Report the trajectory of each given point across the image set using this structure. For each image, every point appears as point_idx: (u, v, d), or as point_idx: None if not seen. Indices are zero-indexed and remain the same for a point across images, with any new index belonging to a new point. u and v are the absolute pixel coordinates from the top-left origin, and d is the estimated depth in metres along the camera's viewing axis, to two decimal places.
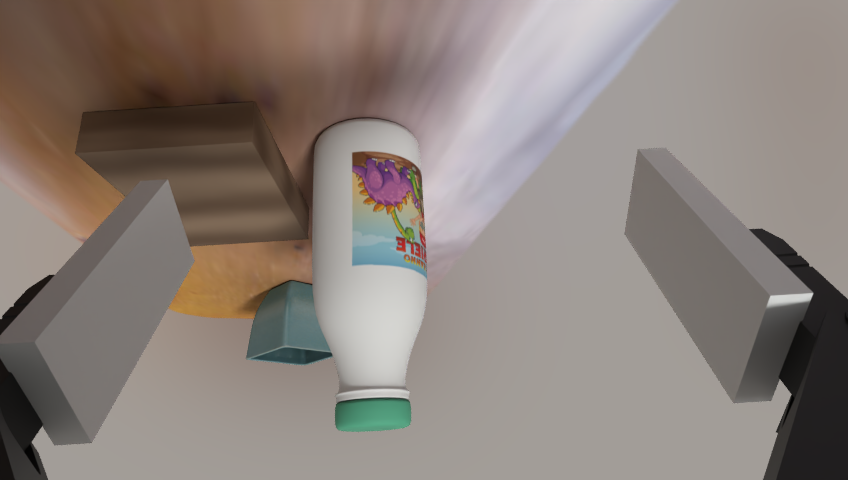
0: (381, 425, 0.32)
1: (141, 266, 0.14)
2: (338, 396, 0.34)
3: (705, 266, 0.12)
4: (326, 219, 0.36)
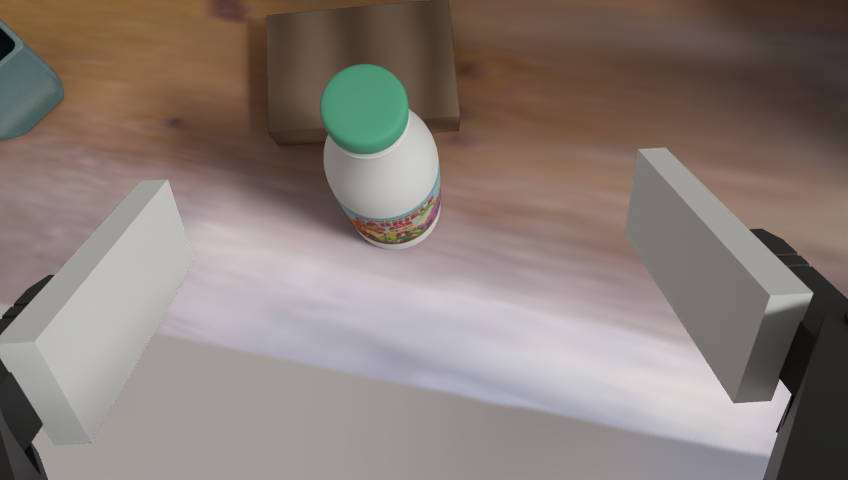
0: (400, 111, 0.28)
1: (141, 266, 0.14)
2: None
3: (705, 266, 0.12)
4: None
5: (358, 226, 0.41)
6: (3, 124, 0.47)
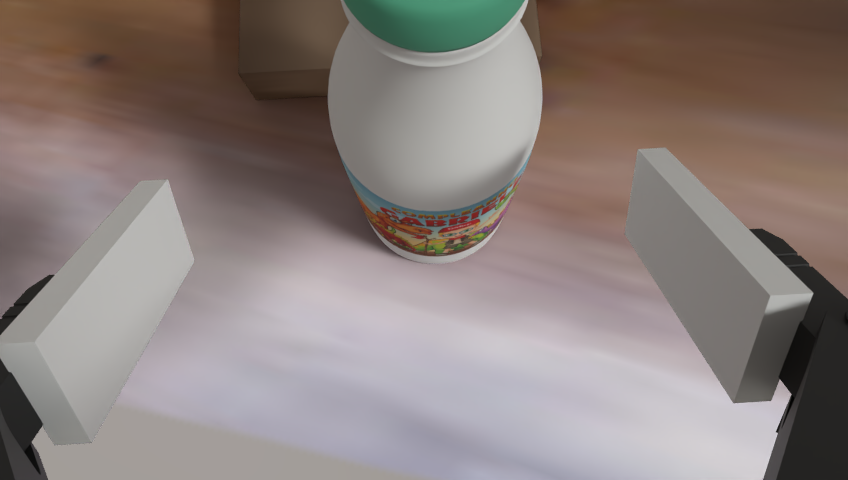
0: None
1: (141, 266, 0.14)
2: None
3: (705, 266, 0.12)
4: None
5: (382, 225, 0.24)
6: None
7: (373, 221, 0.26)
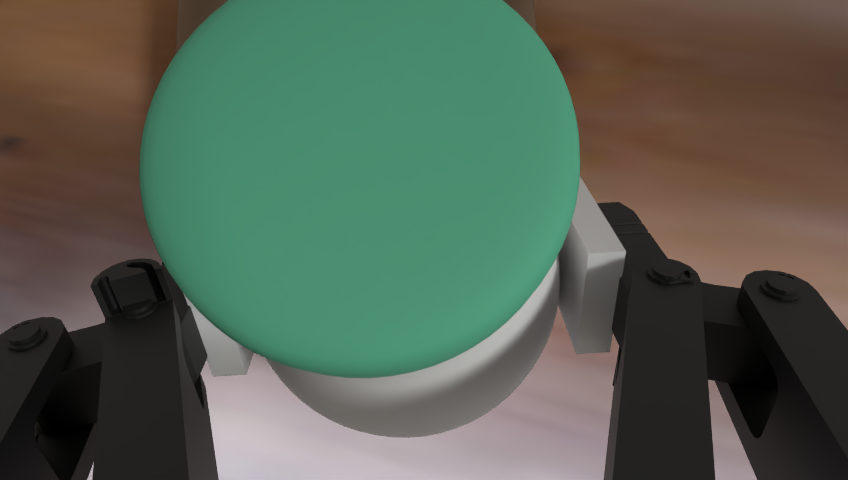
0: (554, 191, 0.05)
1: None
2: None
3: None
4: None
5: None
6: None
7: None
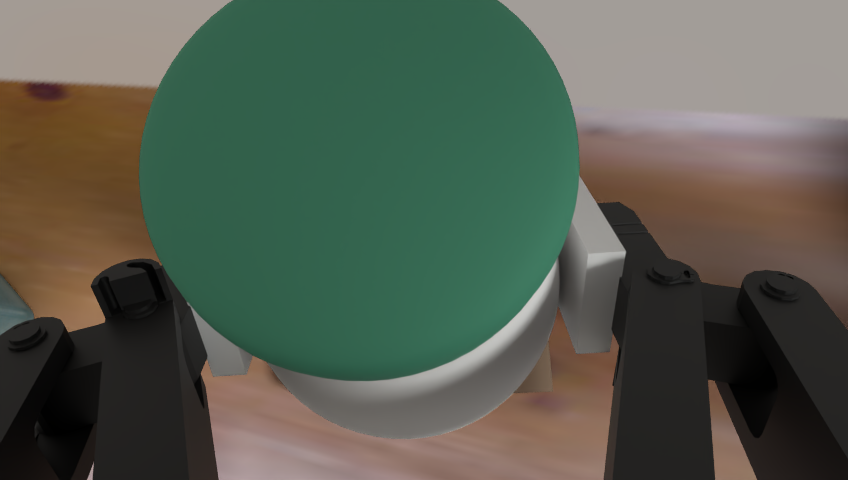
0: (553, 194, 0.05)
1: None
2: None
3: None
4: None
5: None
6: None
7: None
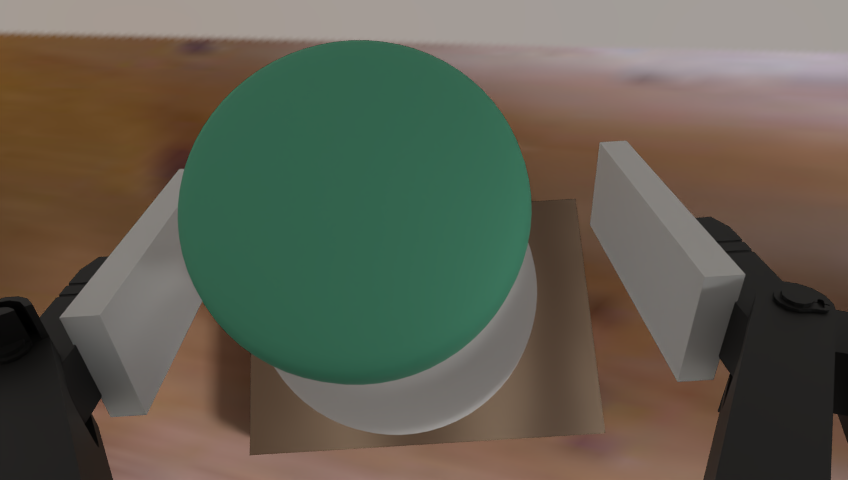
0: (508, 236, 0.07)
1: None
2: None
3: (654, 252, 0.12)
4: None
5: None
6: None
7: None
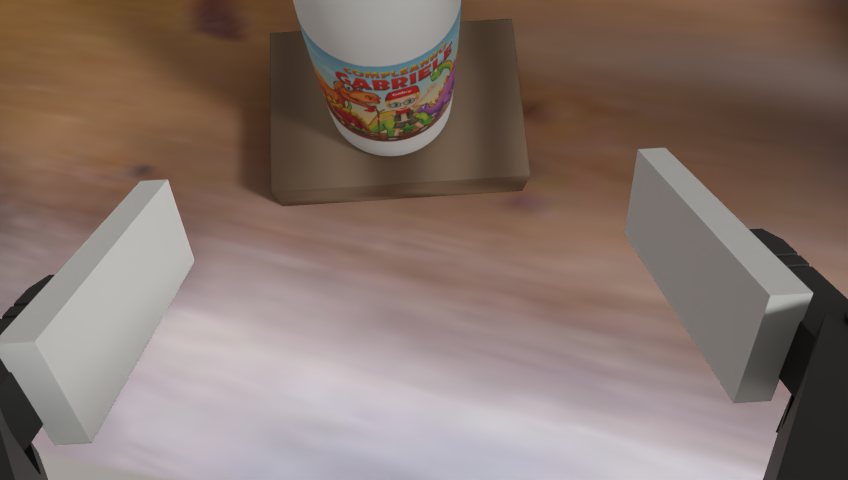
0: None
1: (141, 266, 0.14)
2: None
3: (705, 266, 0.12)
4: None
5: (340, 104, 0.29)
6: None
7: (334, 105, 0.30)
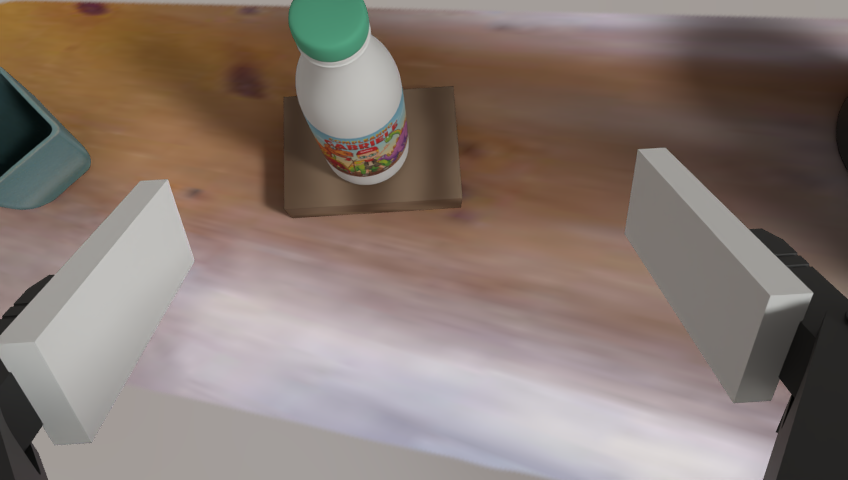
0: (360, 21, 0.32)
1: (141, 266, 0.14)
2: None
3: (705, 266, 0.12)
4: None
5: (329, 154, 0.45)
6: (35, 197, 0.50)
7: (325, 154, 0.46)
